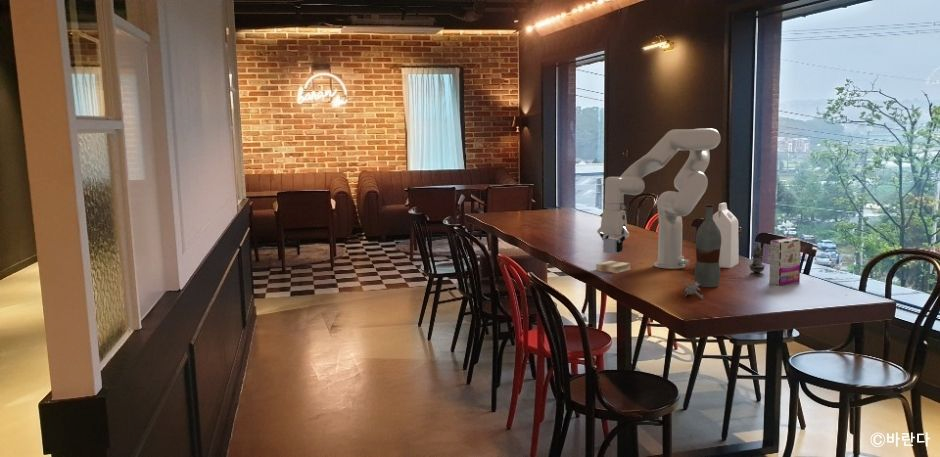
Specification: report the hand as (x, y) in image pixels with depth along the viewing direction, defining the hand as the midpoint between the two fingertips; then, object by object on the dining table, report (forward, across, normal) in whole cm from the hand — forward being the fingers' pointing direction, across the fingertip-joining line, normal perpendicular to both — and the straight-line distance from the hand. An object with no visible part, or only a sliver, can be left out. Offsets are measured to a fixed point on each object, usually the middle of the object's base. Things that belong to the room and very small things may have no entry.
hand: (612, 250), depth 295 cm
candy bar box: (+8, -62, -19) cm, 66 cm away
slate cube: (+1, 0, 0) cm, 1 cm away
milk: (+8, -28, -39) cm, 49 cm away
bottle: (+8, -42, +2) cm, 43 cm away
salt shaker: (+8, -48, -28) cm, 56 cm away
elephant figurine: (+8, -46, +23) cm, 53 cm away
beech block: (+9, 0, 0) cm, 9 cm away
